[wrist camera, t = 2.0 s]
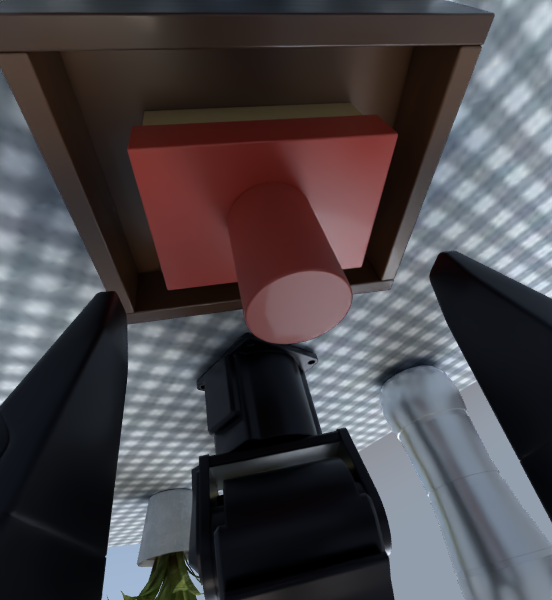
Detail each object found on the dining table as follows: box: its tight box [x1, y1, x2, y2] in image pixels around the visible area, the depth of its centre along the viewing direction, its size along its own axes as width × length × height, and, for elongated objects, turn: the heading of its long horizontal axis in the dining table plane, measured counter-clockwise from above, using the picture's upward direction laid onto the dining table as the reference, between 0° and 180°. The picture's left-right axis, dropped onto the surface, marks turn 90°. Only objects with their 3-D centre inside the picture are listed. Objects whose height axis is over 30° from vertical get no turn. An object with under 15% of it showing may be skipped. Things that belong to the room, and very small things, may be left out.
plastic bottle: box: [380, 365, 552, 600], centre depth 24 cm, size 6×7×20 cm
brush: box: [127, 103, 398, 344], centre depth 11 cm, size 8×5×7 cm
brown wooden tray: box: [0, 0, 494, 324], centre depth 13 cm, size 10×12×3 cm
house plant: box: [121, 489, 204, 600], centre depth 36 cm, size 14×14×16 cm
